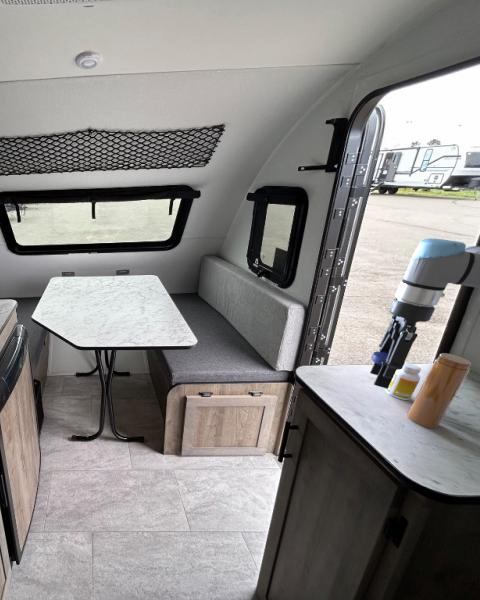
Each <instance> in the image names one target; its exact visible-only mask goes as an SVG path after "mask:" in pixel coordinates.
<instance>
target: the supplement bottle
mask: <svg viewBox="0 0 480 600" xmlns="http://www.w3.org/2000/svg"><path fill="white" fill-rule="evenodd" d="M421 370H422V368H421V367H420V366H418V365H416V364H414V363H411V362H406V361H405V364H404V366H403V368H402V369H401V370H396V372H395V374H394V376H393V379H392V381H391V383H390V385H389V387H388V389H386V388H385V392H386V393H387V394H388V395H390V396H392V397H394V398H396V399H399V400H402V401H410V399H411V398H412V396H413V394H414V392H415V390H416V388H417V386H418V384H419V383H420V380H421V376H420V375H419V374H420V372H421Z"/></svg>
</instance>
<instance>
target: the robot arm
mask: <svg viewBox="0 0 480 600" xmlns="http://www.w3.org/2000/svg"><path fill="white" fill-rule="evenodd" d="M448 284H453V285H456V286H457V285H458V286H465V287H470V288H476V289H480V245H476V246H475V245H472V246H467V244H466V243H464V242H462V241H456V240H451V239H443V238H432V237H431V238H424V239H423V240H420V241H419V243H418V245H417V247H416V249H415V251H414V253H413V254H412V256H411V259H410V261H409V263H408V267H407V269H406V271H405V273H404V276H403V278H402V281H400V283H399V286H398V288H397V290H396V293H395V295H394V296H395V298H394V299H393V300H392V303H391V304H390V306H389V313H390V314H391V315H392V316H391V319H390V322H389V324H388V326H387V328H386V330H385V333H384V335H383V337H382V339H381V341H380V343H379V344H378V347H379V350H378V352H385V353H389V354H388V357H387V360H386V362H381V364H383V365H382V366H380V365H378V364H376V363H375V362H373V365H372V367H371V370H370V372H369V373H370V374H372V375H373V376H374V375H375V376H376V377H375V380H374V382H373V385H374V386H376V387H380V388H383V389H385V390H386V389H388V387H389V385H390V383H391V381H392V379H393V376H394V374H395V372H396V370H397V369H402V366H403V364H404V362H406V360H407V357H408V356H409V353H410V351H411V348H412V347H413V344H414V342H415V341H416V339H417V338H418V337H419V336H418V333H416V332H417V329H418V327H417V323H421V322H422V323H427V322H429V321H430V320H431V318H432V316H433V314H434V313H435V311H436V308H435V306H437V305H438V303H439V302H440V300H441V298H444V297H445V296H446V294H445V293H444V292H445V290H446V287H447V286H448Z"/></svg>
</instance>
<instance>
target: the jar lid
mask: <svg viewBox="0 0 480 600" xmlns="http://www.w3.org/2000/svg"><path fill="white" fill-rule="evenodd" d="M388 354H389V353H385V352H380V351H374V352H373V353H372V354H371V357H370V360H371V361H372V362H373V363H376V364H378V365H380V366H382V365H383V364H381V362H386V360H387V357H388ZM405 362H406V361H405ZM405 362H404V364H405ZM404 364H403V366H404ZM403 366H402V368H403ZM397 370H401V369H397Z"/></svg>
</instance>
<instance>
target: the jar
mask: <svg viewBox="0 0 480 600" xmlns="http://www.w3.org/2000/svg"><path fill="white" fill-rule="evenodd" d="M471 366H472V362H471V361H470V360H469V359H467V358H465V357H462V356H460V355H456V354H451V353H447V352H446V353H445V352H442V353H439V355H438V357H437V358H435V360H434V362H433V363H432V366H431V368H430V369H429V372H427V373H428V374H427V375H426V377H425V379H424V381H423V384H422V385H421V387H420V389H419V391H418V393H417V394H416V397H415V399H414V400H413V402H412V405H411V407H410V408H409V410H408V412H407V414H406V415H407V419H409V420H410V421H412V422H413V423H415V424H417V425H419V426H422V427H424V428H428V429H437V428H438V427H439V425H440V423H441V422H442V419H443V418H444V417H445V414H446V413H447V411H448V409H449V407H450V405H451V404H452V403H453V400H454V399H455V397H456V395H457V393H458V391H459V390H460V388H461V386H462V384H463V383H464V381H465V379H466V377H467V376H468V374H469V372H470V370H471V368H470V367H471Z"/></svg>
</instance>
